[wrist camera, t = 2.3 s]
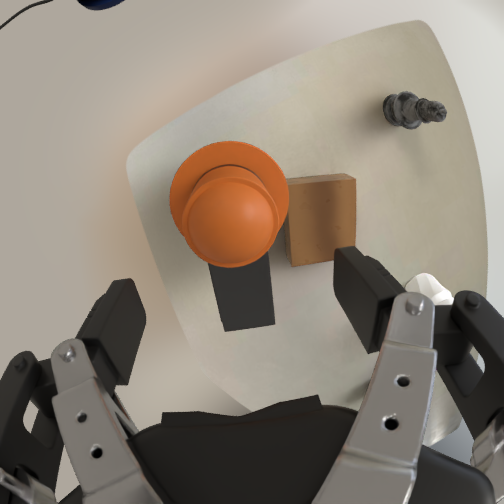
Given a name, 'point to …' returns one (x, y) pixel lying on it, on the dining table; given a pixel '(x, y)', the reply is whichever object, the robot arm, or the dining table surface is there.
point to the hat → (229, 202)
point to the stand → (319, 217)
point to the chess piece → (412, 110)
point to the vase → (430, 289)
